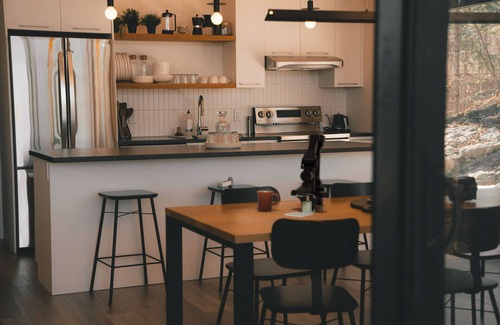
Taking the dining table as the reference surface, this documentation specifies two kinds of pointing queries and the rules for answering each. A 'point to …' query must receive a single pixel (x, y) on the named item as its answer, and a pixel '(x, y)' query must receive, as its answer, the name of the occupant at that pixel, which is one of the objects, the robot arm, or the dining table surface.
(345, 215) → the dining table surface
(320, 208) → the walnut block
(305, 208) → the sage block
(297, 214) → the trivet
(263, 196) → the mug
